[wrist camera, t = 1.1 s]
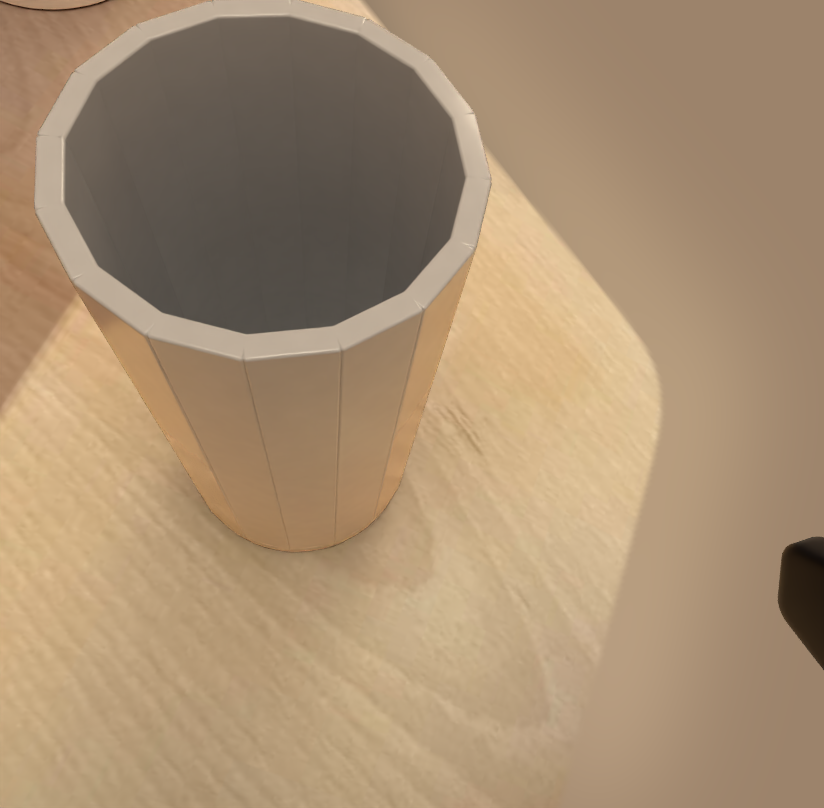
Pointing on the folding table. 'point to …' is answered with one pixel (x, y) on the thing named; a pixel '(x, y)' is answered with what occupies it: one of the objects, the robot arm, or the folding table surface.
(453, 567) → the folding table surface
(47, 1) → the cup
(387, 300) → the tumbler
